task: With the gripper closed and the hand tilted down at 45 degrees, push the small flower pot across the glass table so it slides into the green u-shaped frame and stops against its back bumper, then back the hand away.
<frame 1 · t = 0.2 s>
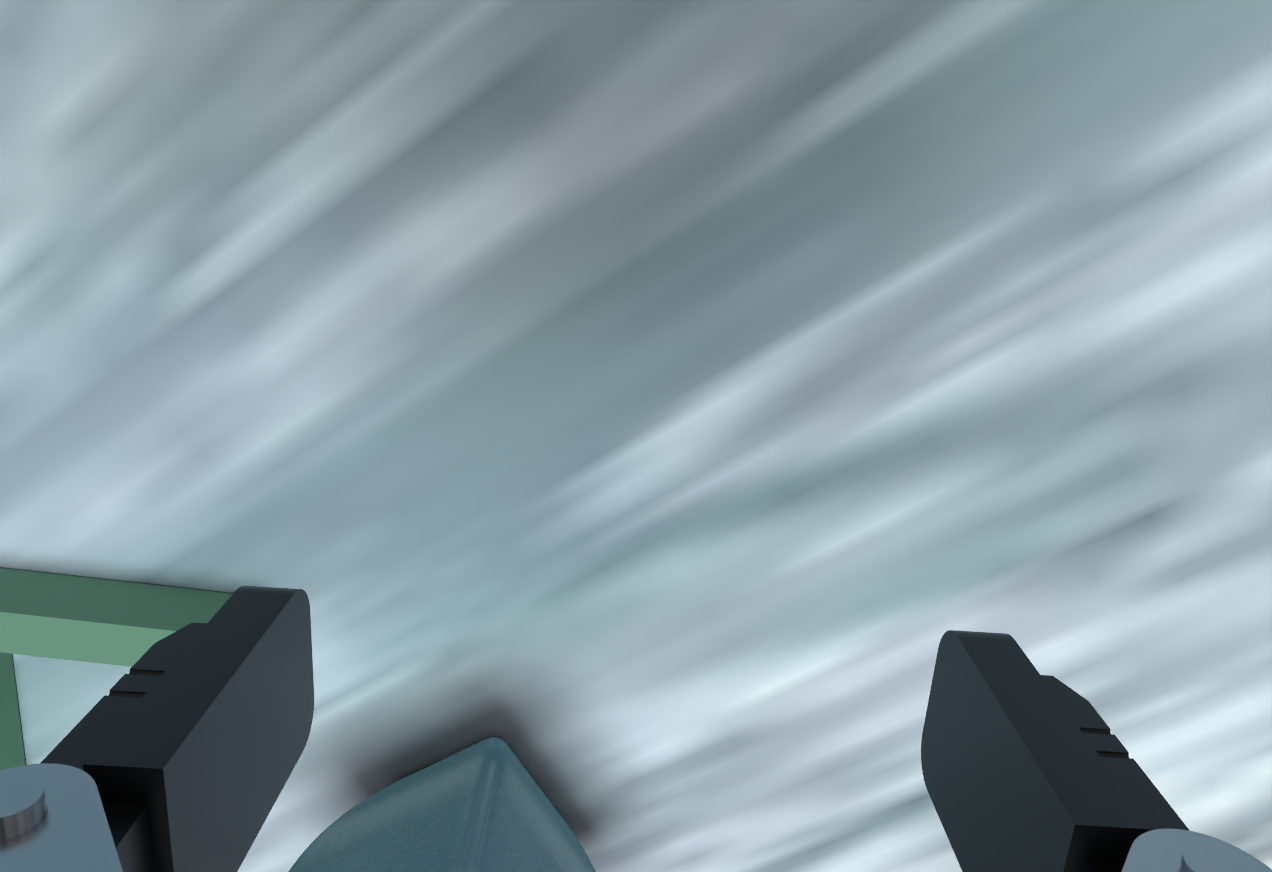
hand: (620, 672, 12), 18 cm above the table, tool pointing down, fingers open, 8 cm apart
flower pot: (478, 803, 35), on the table
green u-shaped frame: (163, 775, 35), on the table
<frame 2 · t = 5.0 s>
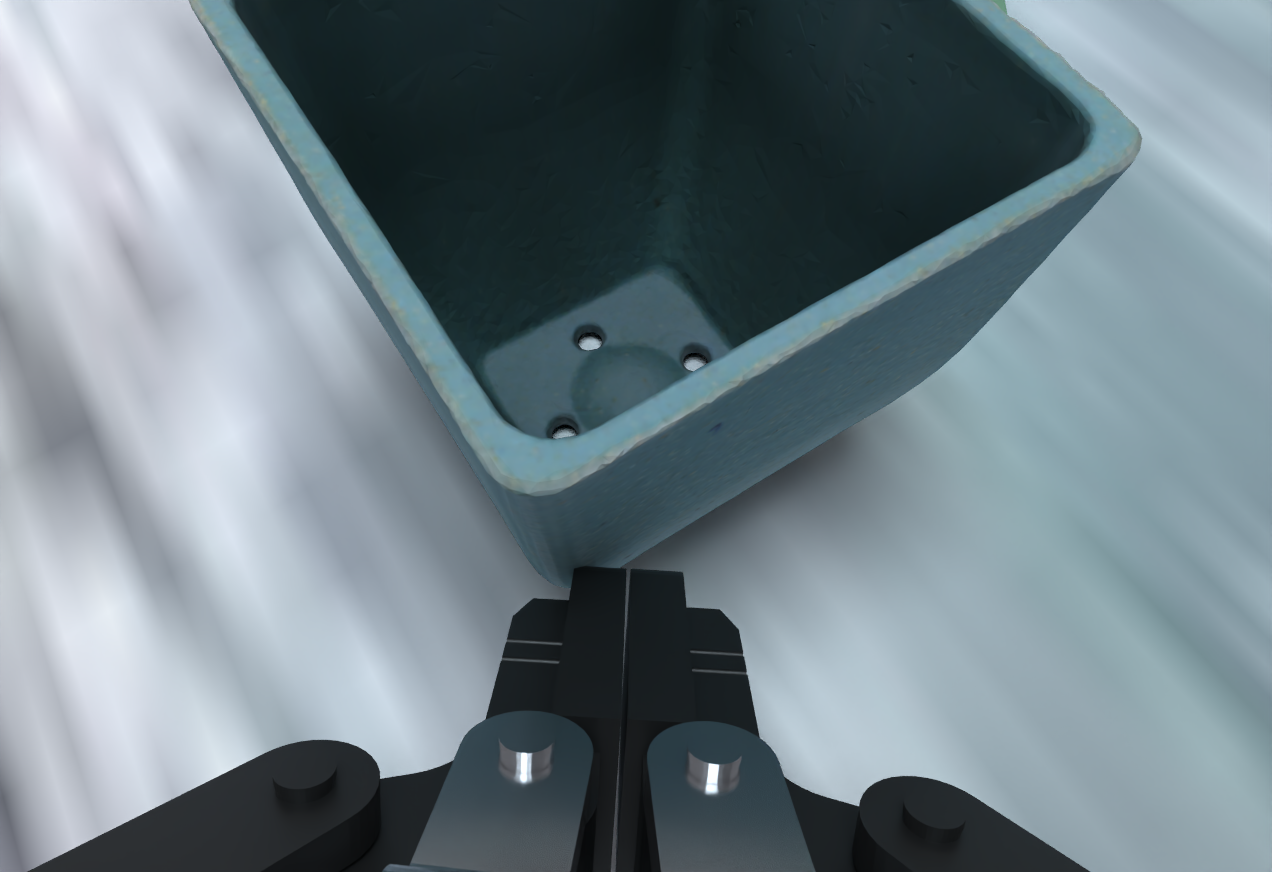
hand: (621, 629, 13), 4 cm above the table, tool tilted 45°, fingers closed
flower pot: (625, 406, 20), on the table, touching gripper
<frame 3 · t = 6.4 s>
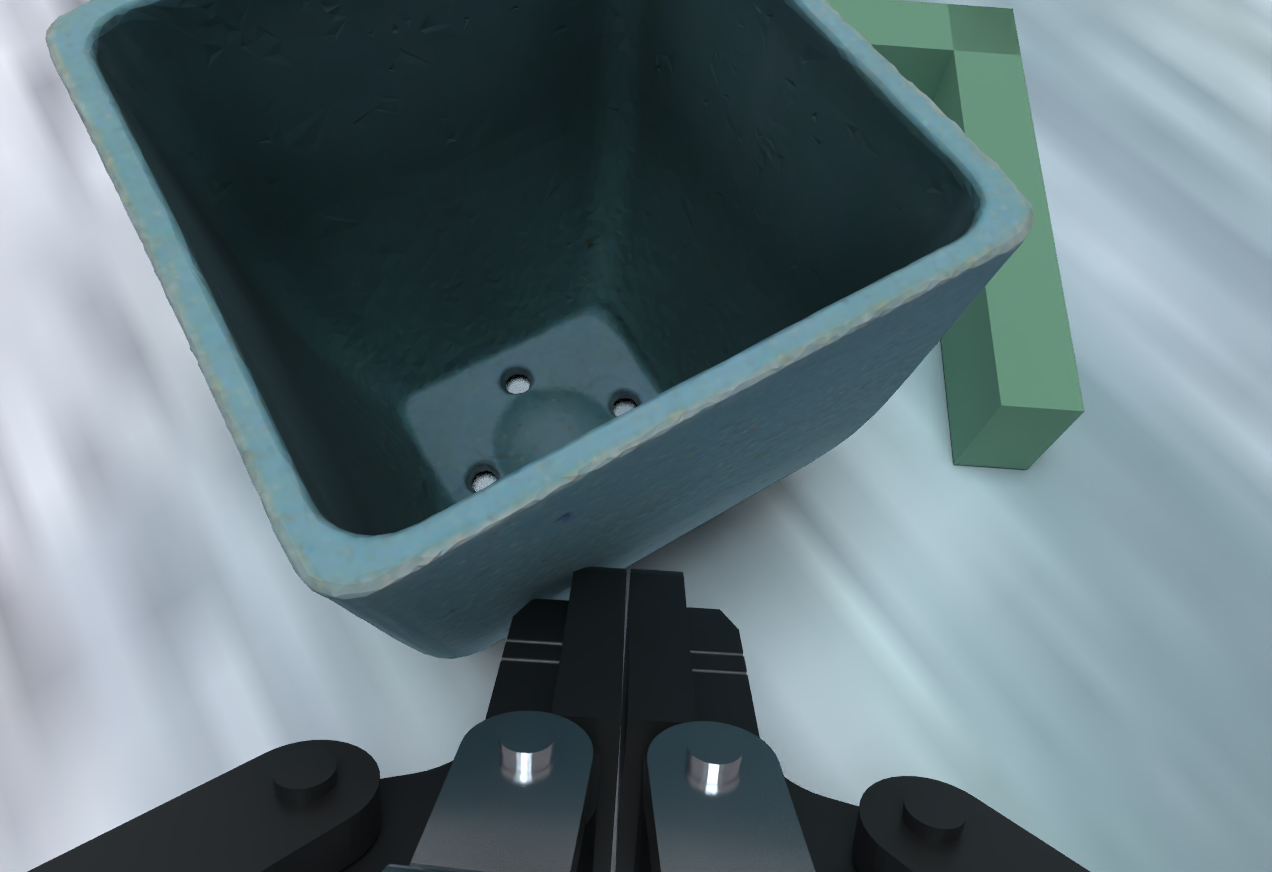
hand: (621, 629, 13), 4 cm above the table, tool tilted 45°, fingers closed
flower pot: (551, 452, 19), on the table, touching gripper
green u-shaped frame: (644, 280, 21), on the table
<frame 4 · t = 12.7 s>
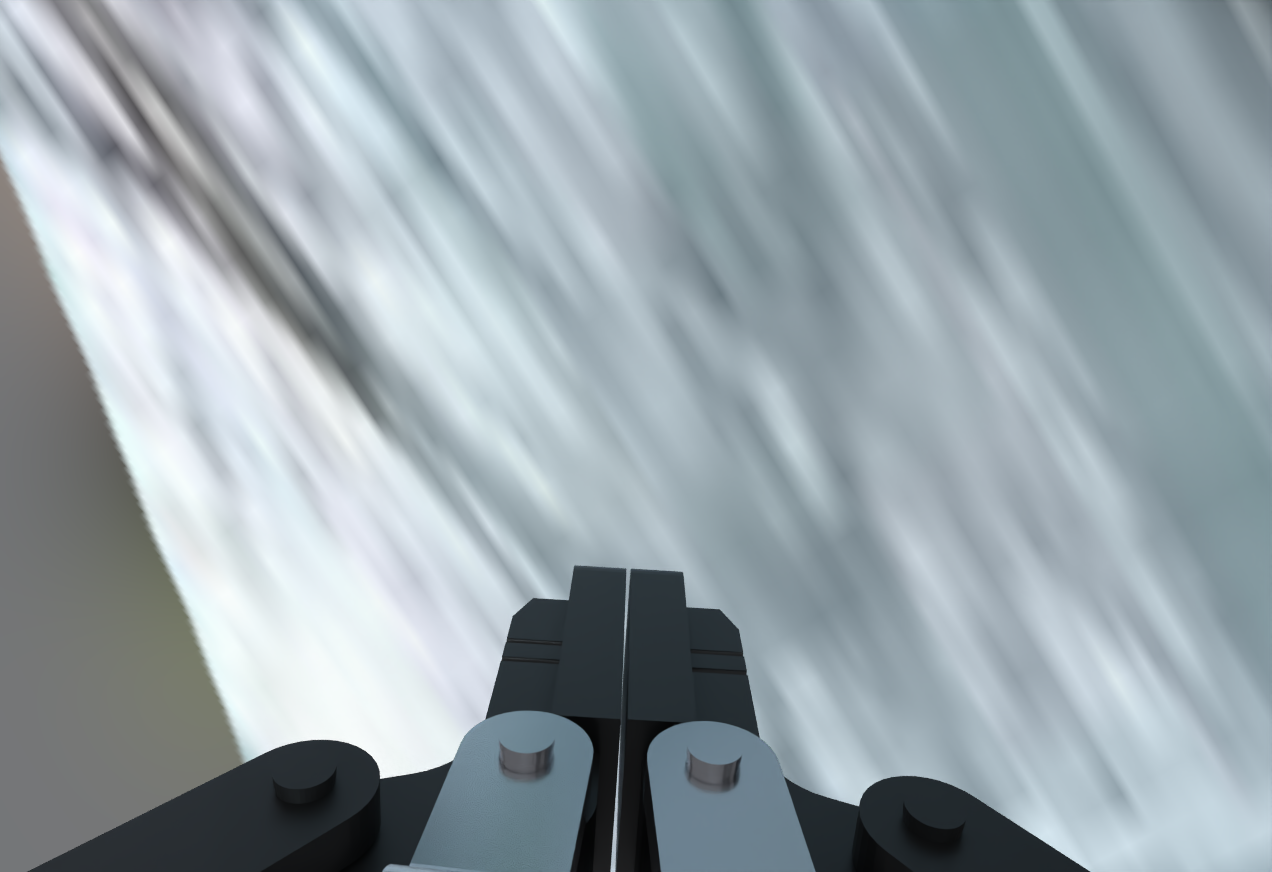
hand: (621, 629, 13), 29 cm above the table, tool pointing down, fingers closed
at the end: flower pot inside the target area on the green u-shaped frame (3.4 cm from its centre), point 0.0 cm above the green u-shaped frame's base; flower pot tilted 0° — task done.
